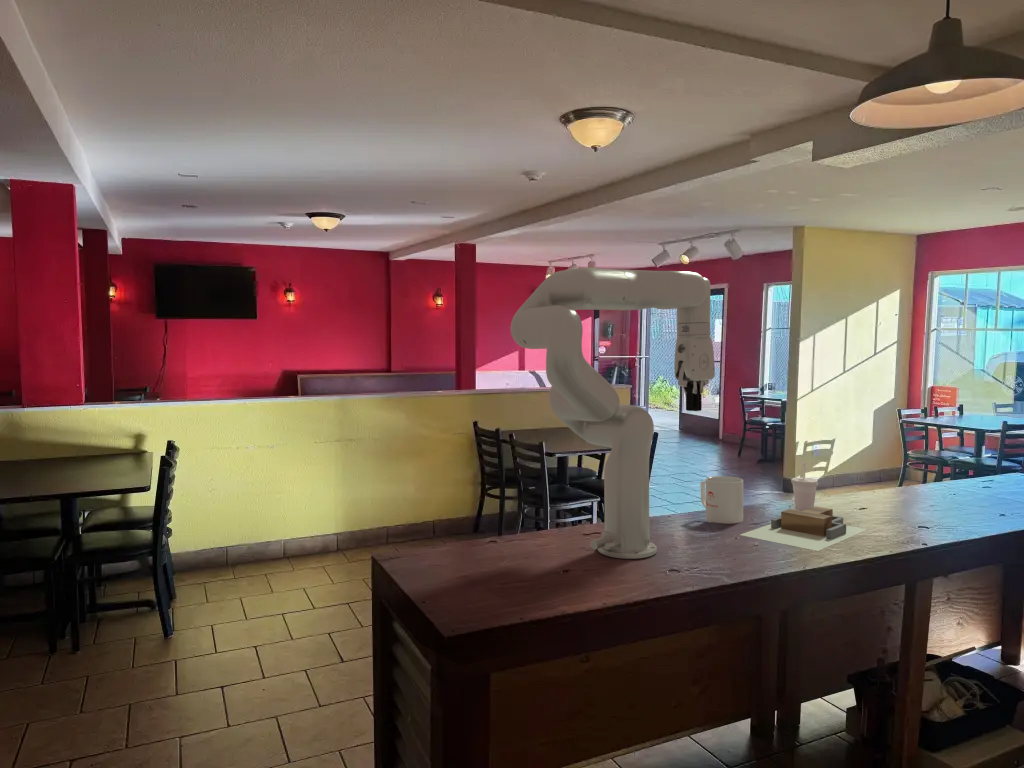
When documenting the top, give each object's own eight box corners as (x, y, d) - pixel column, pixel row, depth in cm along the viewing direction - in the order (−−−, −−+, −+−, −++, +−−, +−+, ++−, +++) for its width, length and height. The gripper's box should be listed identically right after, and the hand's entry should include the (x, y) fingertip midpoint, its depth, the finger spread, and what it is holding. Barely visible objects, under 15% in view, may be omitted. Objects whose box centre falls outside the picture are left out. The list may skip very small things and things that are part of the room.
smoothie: (813, 514, 184) (813, 460, 183) (821, 520, 177) (822, 464, 177) (787, 514, 184) (788, 460, 184) (795, 520, 178) (795, 464, 177)
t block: (823, 536, 158) (823, 518, 157) (781, 528, 165) (781, 511, 165) (845, 528, 165) (845, 511, 165) (803, 520, 172) (803, 504, 172)
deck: (817, 556, 147) (817, 541, 147) (739, 540, 160) (739, 526, 160) (867, 534, 163) (867, 520, 163) (793, 521, 177) (793, 508, 177)
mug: (751, 525, 174) (751, 480, 173) (725, 530, 169) (725, 484, 169) (714, 515, 184) (714, 473, 183) (689, 520, 180) (689, 476, 179)
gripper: (688, 330, 156) (688, 413, 157) (725, 331, 166) (725, 409, 167) (660, 331, 161) (660, 412, 162) (698, 332, 171) (698, 407, 172)
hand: (693, 410), depth 164 cm, fingers closed
